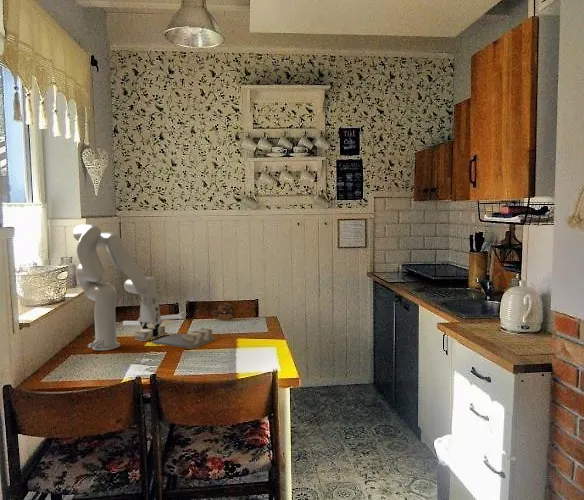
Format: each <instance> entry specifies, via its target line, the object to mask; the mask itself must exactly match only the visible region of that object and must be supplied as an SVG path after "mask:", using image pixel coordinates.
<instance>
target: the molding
mask: <svg viewBox="0 0 584 500" xmlns="http://www.w3.org/2000/svg"><path fill="white" fill-rule="evenodd" d="M186 313H187V312H186V311H182V312H180V313H177V314H166V315H160V319H161V320H162V321H165V320H176V319H177V320H180V319H181V320H182V319H184V318H185V317H187V316H188V315H187V314H188V313H187V314H186ZM186 315H187V316H186ZM135 325H141V324H140V323H139V321H138V320H123V322H122V326H123V327H125V326H126V327H127V326H132V327H134V326H135ZM135 327H136V326H135Z"/></svg>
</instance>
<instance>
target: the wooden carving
mask: <svg viewBox="0 0 584 500" xmlns="http://www.w3.org/2000/svg"><path fill="white" fill-rule="evenodd" d="M216 308H217V310H213V311H211V312H210V313H211V315H212V317H213V319H219V320H221V321H230V320H232V319H235V318H236V316H235V314H238V312H237V311H235V310H234V309H235V306H234V304H230V303H226V302H225V303H220V304H217V307H216Z"/></svg>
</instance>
